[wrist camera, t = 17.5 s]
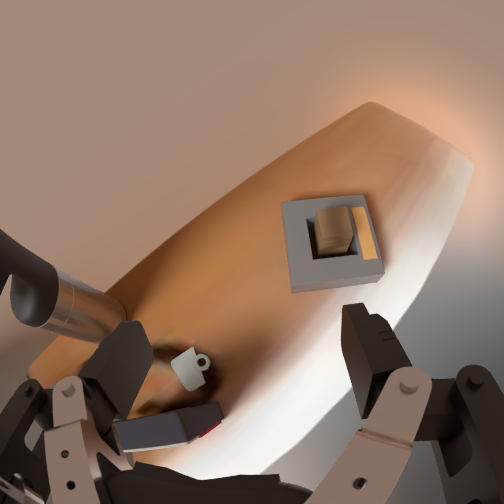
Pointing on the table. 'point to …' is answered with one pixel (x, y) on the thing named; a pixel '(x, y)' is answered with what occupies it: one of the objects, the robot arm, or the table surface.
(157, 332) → the table surface
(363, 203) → the socket block
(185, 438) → the black slab
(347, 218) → the walnut peg
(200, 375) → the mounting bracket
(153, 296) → the table surface
